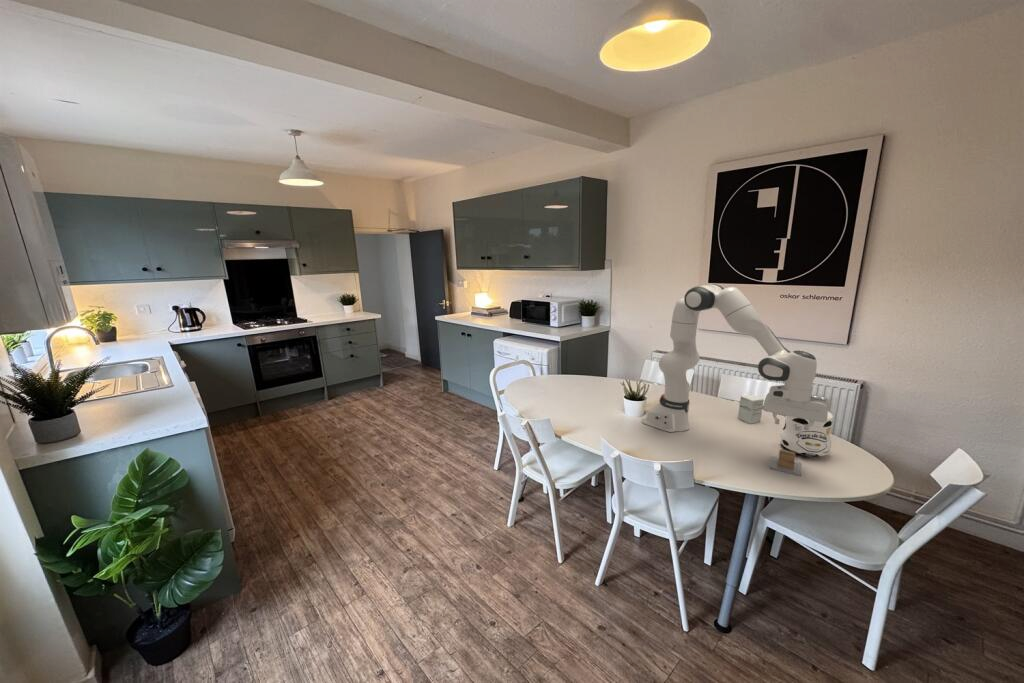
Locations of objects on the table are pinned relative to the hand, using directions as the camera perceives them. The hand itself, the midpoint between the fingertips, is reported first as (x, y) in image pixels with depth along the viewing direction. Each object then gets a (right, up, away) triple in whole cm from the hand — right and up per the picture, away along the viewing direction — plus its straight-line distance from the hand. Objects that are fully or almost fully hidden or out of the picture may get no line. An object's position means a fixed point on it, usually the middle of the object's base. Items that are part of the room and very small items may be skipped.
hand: (791, 426), depth 149 cm
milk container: (+17, -14, +16) cm, 27 cm away
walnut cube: (0, -16, +3) cm, 17 cm away
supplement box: (+12, -7, +46) cm, 48 cm away
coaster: (0, -17, +4) cm, 17 cm away
